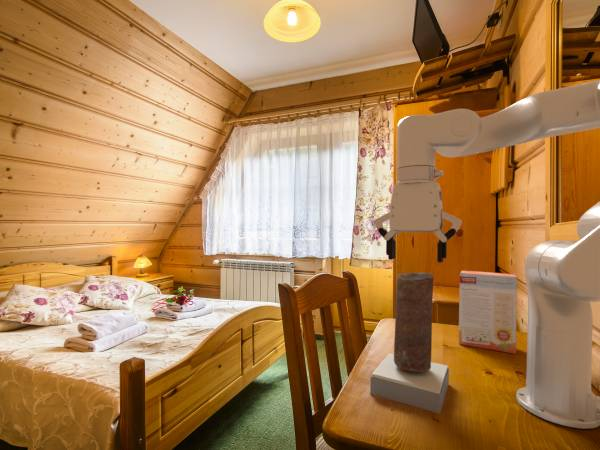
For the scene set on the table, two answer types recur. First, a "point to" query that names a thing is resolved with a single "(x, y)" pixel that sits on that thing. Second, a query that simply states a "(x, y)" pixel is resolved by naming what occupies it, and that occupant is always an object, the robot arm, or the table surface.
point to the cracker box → (488, 310)
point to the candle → (413, 322)
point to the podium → (411, 384)
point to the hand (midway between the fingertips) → (415, 260)
